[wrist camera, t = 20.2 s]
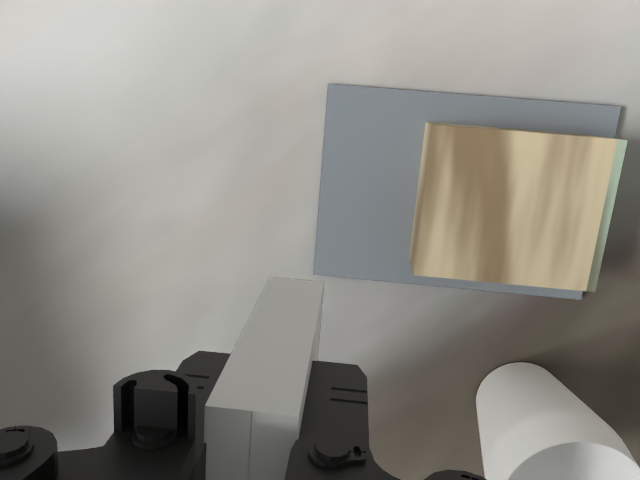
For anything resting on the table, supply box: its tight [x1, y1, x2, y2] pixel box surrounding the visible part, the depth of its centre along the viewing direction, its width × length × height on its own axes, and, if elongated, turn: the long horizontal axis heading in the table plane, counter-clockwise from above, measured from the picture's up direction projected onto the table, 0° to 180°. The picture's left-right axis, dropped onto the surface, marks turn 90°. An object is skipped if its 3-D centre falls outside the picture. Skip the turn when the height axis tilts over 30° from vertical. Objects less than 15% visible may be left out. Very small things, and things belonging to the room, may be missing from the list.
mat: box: [313, 84, 621, 300], centre depth 40 cm, size 20×14×1 cm
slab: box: [409, 122, 628, 292], centre depth 38 cm, size 4×10×12 cm
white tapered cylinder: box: [476, 362, 640, 480], centre depth 38 cm, size 9×9×12 cm
